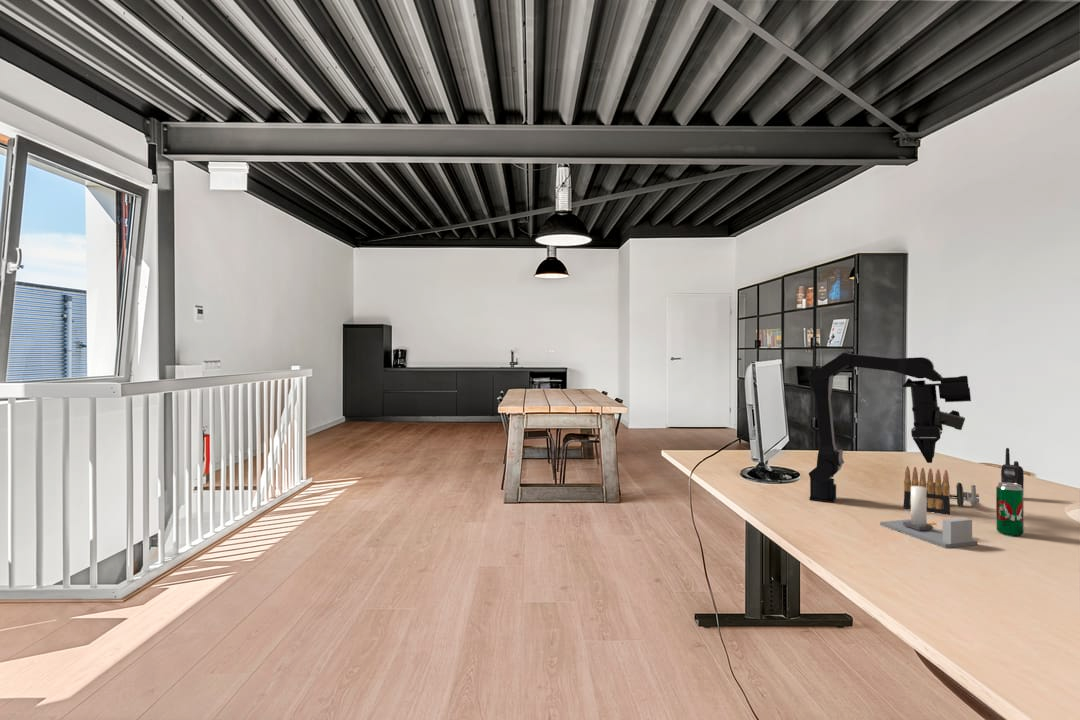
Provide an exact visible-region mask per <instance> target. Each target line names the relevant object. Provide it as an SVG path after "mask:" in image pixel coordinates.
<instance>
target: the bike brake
mask: <svg viewBox="0 0 1080 720" xmlns="http://www.w3.org/2000/svg"><path fill="white" fill-rule="evenodd" d="M941 484H942V485H943V481H941ZM955 488H956V494H955V493H952V494H950V498H956V502H957V505H958V506H959V507H960V508H962V507H964V503H965V501H967V502H970V505H971V506H972V507H974V508H977V506H978V505H979V503H980V498H979V497H980V495H979V494H980V493H977V491H976V488H977V487H976V485H975V484H971V485H970V490H971V491H970V492H969V491H968V492H967V491H964V488H963V483H961V482H957V483H956V487H955ZM926 492H927V489H926ZM934 493H935V482H934ZM934 504H935V498H934Z"/></svg>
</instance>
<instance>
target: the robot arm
mask: <svg viewBox="0 0 1080 720" xmlns="http://www.w3.org/2000/svg"><path fill="white" fill-rule="evenodd" d="M934 365H935V364H934V362H933V361H931V360H930V358H928V357H923V356H922V357H921V356H920V357H902V358H901V357H900V358H898V357H897V358H895V357H894V358H893V357H883V356H875V355H874V356H873V355H864V354H856V353H854V354H853V353H851V352H842V353H840V354H839V355H838V356H836V357H835V358H834V359H832V360H830V361H828V362H827V363H825V364H824V365H823V366H820V367H819V366H818V367H815V368H813V369H811V370H810V371H809V373H808V374H807V375H808V376H807V377H808V378H807V380H808V382H809V385H810V389H811V391H812V394H813V396H814V399H815V407H816V408H815V409H816V418H817V420H816V421H817V427H818V428H817V429H818V430H817V431H818V440H819V445H818V446H819V447H818V453H817V460H816V466H815V467H814V468H813V469H812V470H810V471H809V472H808V476H809V479H810V480H809V485H810V486H809V493H810V494H809V495H810V496H809V497H808V499H809V500H810V501H818V502H826V503H827V502H829V503H835V500H836V499H837V484H836V483H835V478H834V476H835V475H836V474H837V473H838V472H839V471H841V469H842V467H843V465H844V464H845V461H844V458H843V456H844V455H843V454H844V453H843V452H844V449H838V448H837V444H836V441H835V430H834V417H833V411H832V410H833V409H832V400H831V399H832V398H831V396H832V392H833V387H834V377H835V376H837V375H839V374H840V373H841V372H842V371H844V370H845V369H846V368H848V367H855V368H864V369H871V370H872V369H873V370H880V371H889V372H895V373H898V374H901V375H904V376H908V377H909V378H907V379H906V381H905V382H904V383H903V384H902V388H910V394H911V395H910V396H911V404H912V405H911V406H912V407H911V411H912V413H913V414H912V416H913V427H912V428H911V430H910V432H911V438H912V440H913V441H914V443H915V444H916V446H917V448H918V450H919V451H920V453H921V455H922V457H923V458H924V460H925V462H926V463H928V464H932V463H933V458H934V457H935V450H936V445H937V444H936V443H937V442H938V441H940V439H941V435H942V433H943V430H944V429H943V426H947V427H949V428H953V429H955V430H958V431H962V429H963V427H964V423H965V421H966V417H964V416H961V415H960V411H958V410H954V409H952V410H951V411H950V412H945V411H941V409H940V408H941V407H940V406H939V405H938V404H939V403H938V397H937V388H936V387H938V393H939V394H938V395H939V399H940V400H941V399H942V400H944V401H945V403H958V402H959V403H961V402H971V401H972V399H971V398H972V397H971V388H970V387H969V379H968V376H967V375H961V376H950V377H949V376H948V377H943V376H942V374H941V373H939V372H938V371H937V370H935V366H934ZM910 377H912V378H916V379H920V380H912V379H911V378H910ZM921 379H924V380H921ZM926 379H927V380H929V381H931V382H936V383H926ZM937 382H938V383H937Z"/></svg>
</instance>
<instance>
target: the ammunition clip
mask: <svg viewBox="0 0 1080 720" xmlns="http://www.w3.org/2000/svg"><path fill="white" fill-rule="evenodd" d="M919 473H920V476H918V475H919V474H918V469H917V467H916V466H914V467H913V470H912V480H911V472H910V467H909V466H907V465H906V468H905V470H904V479H903V481H904V482H903V494H904V496H903V510H908V509H911V486H922V487H926V490H927V492H926V507H927V513H931V512H934V513H933V514H939V513H940V514H939V515H946V514H947V516H950V515H951V497H950V495H951V492H950V491H951V488H950V486H951V485H950V481H949V480H950V479H949V472H948V471H947V469H945V470H944V472H943V476H942V477H941V472H940V469H939V468H938V469H937V470H936V472H935V479H934V475H933V474H934V473H933V470H932V468H929V469H928V472H927V477H926V471H925V468H924V467H922V468H921V470H920V472H919ZM926 478H927V479H926ZM941 478H942V479H941ZM926 480H927V481H926ZM934 480H935V481H934ZM942 482H943V485H942ZM934 483H935V493H934ZM934 498H935V503H934Z"/></svg>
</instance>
